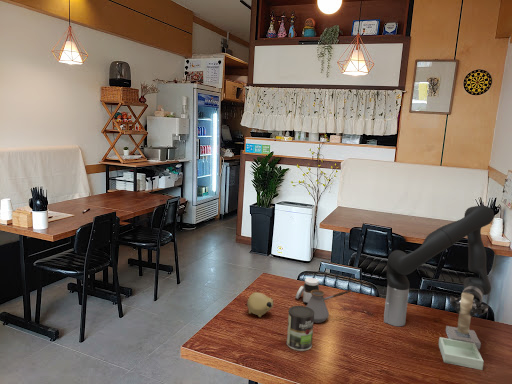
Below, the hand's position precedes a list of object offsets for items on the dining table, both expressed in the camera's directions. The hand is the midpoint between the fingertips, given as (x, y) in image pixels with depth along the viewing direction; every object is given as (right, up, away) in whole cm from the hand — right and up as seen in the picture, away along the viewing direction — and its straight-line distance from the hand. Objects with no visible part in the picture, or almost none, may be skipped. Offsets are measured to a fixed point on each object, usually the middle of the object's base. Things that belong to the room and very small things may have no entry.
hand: (464, 312), depth 144 cm
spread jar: (-53, -10, +49) cm, 73 cm away
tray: (+1, -19, +5) cm, 20 cm away
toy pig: (-77, -12, +33) cm, 85 cm away
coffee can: (-62, -16, +9) cm, 64 cm away
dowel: (+1, -9, +4) cm, 9 cm away
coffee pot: (-47, -13, +31) cm, 57 cm away
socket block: (+9, -18, +18) cm, 27 cm away
